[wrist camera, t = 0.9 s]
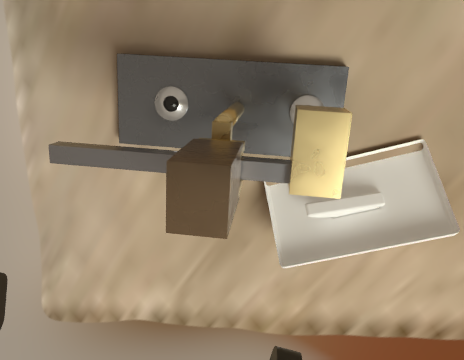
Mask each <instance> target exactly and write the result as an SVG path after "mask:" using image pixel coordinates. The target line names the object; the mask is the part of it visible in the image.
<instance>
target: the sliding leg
mask: <svg viewBox="0 0 464 360" xmlns="http://www.w3.org/2000/svg"><path fill="white" fill-rule="evenodd" d="M243 113H244V106H243V105H242V104H241V103H239V102H235V103H233V104H232V105H231V106H230V107H228V108H227V109H226V110H225V111H223V112H222V113H221V114H220V115H219V116H217V117H216V118H215V120H214V121H212V138H199V139H192V140H191V141H190V142H189V143H187V144H186V145H185V146H184V147H183V148H181V149H180V150H179V151H178V152H177V153H176V154H174V155H173V156H172V157H171V158H170V159H168V160H167V171H166V233H173V234H183V235H193V236H203V237H213V238H223V239H227V237H228V234H229V230H230V227H231V224H232V221H233V217H234V214H235V211H236V208H237V204H238V201H239V194H240V191H241V188H242V183H243V180H242V179H240V177H241V162H242V155H243V153H244V151H245V141H237V140H232V130H233V126H234V124H235V123H236V122H237V121H238V119H239V118H240V117H241V115H242V114H243Z"/></svg>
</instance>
